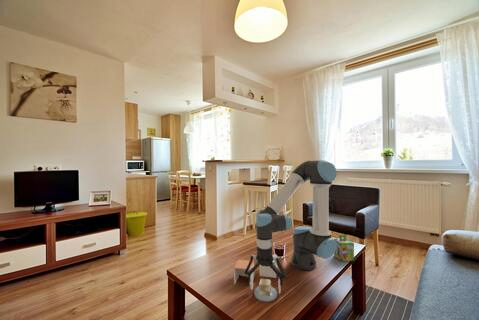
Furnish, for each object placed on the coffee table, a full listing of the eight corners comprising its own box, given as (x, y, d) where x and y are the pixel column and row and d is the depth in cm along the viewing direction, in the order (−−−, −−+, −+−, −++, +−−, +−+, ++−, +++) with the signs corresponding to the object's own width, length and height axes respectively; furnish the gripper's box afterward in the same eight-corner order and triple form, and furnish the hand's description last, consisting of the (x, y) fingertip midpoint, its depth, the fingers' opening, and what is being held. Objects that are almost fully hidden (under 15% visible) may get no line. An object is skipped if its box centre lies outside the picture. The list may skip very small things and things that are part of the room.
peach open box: (254, 276, 120) (253, 261, 120) (251, 285, 111) (250, 269, 111) (238, 274, 122) (238, 259, 122) (234, 283, 114) (233, 267, 114)
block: (270, 289, 105) (270, 279, 105) (269, 296, 101) (269, 285, 101) (260, 288, 107) (260, 278, 107) (259, 294, 102) (259, 284, 102)
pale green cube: (277, 269, 127) (276, 255, 127) (275, 277, 118) (275, 262, 118) (262, 268, 130) (261, 253, 130) (259, 275, 121) (259, 260, 121)
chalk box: (341, 262, 135) (340, 238, 135) (333, 255, 144) (332, 233, 144) (354, 261, 136) (354, 237, 136) (346, 254, 145) (345, 233, 145)
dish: (277, 289, 108) (277, 286, 108) (276, 303, 97) (275, 300, 97) (256, 286, 111) (256, 284, 111) (252, 299, 100) (252, 297, 100)
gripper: (290, 245, 105) (291, 288, 104) (241, 241, 111) (242, 282, 111) (290, 251, 97) (291, 298, 97) (237, 247, 104) (238, 291, 103)
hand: (265, 290), depth 104 cm, fingers open, 13 cm apart
